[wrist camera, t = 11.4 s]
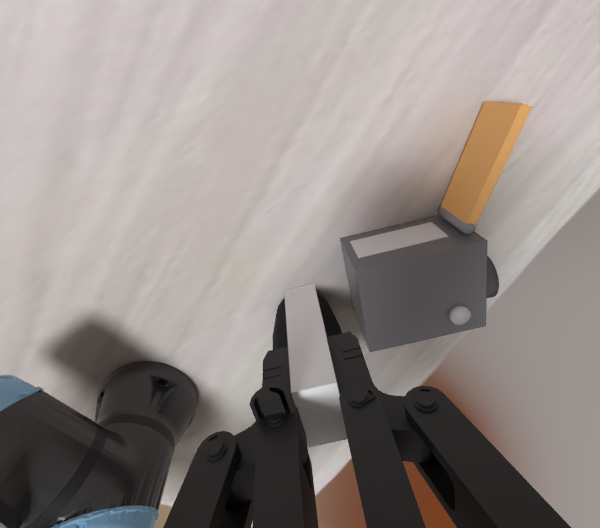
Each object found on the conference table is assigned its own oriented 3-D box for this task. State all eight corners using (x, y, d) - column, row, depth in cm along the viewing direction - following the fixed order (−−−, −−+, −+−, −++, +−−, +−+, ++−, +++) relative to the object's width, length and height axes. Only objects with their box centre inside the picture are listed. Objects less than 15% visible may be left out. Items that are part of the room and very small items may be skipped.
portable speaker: (261, 315, 54) (256, 423, 36) (302, 272, 51) (318, 366, 34) (303, 343, 57) (317, 456, 39) (344, 304, 54) (379, 406, 36)
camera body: (353, 309, 55) (371, 356, 45) (339, 237, 49) (356, 273, 40) (467, 282, 54) (511, 324, 44) (467, 207, 49) (515, 236, 39)
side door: (483, 101, 42) (521, 103, 36) (499, 105, 42) (539, 108, 36) (436, 214, 48) (461, 233, 41) (450, 217, 48) (477, 237, 42)
